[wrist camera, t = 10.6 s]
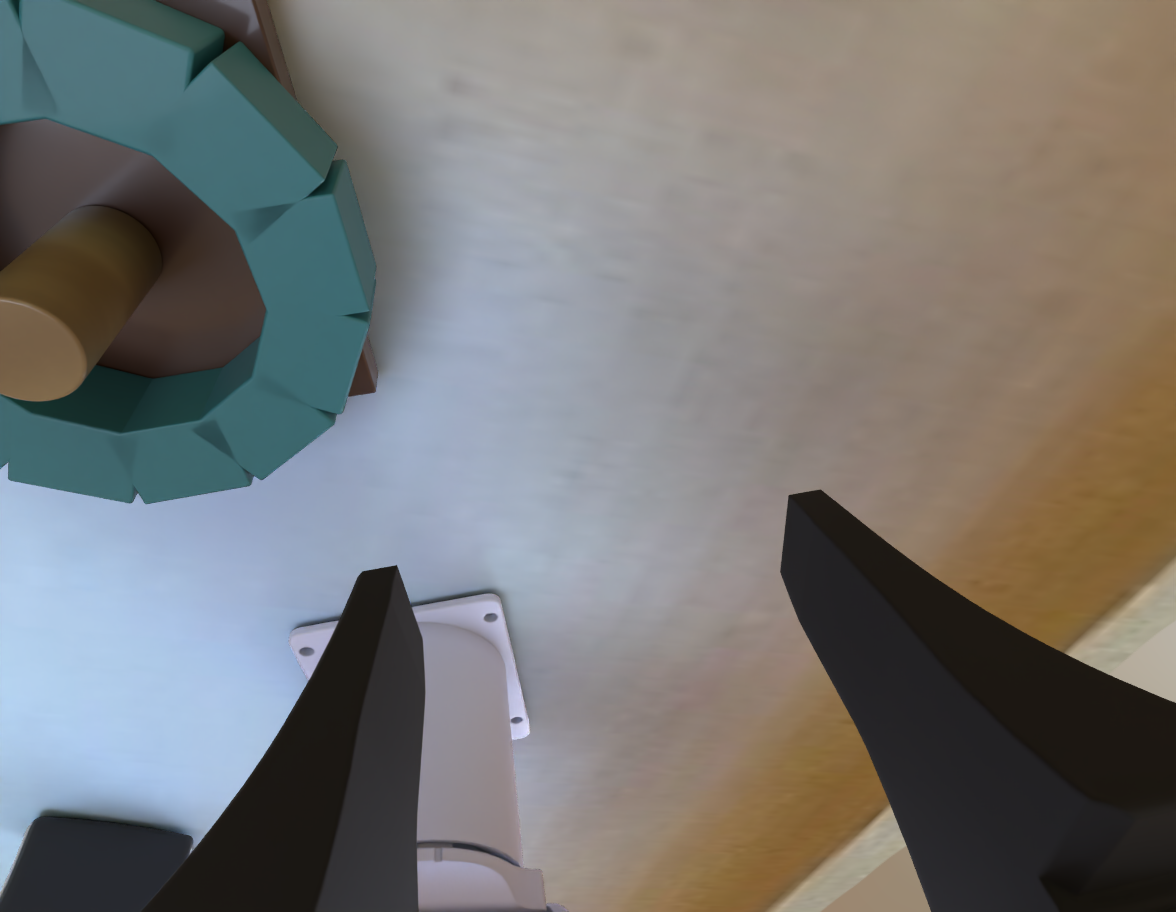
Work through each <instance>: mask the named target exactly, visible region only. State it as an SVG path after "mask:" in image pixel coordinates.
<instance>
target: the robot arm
mask: <svg viewBox="0 0 1176 912" xmlns="http://www.w3.org/2000/svg"><path fill="white" fill-rule="evenodd" d="M780 572H781V575H782V578H783V581H784V583H785V586H786V589H787V591H788V594H789V597H790V599H791V602H792V604H793V607H794V609H795V612H796V614H797V617H798V619H799V621H800V623H801V625H802V627H803V629H804V631H805V633H806V635H807V637H808V638H809V640H810V642H811V644H812V646H813V648H814V650H815V652H816V653H817V655H818V657H819V659H820V661H821V663H822V664H823V666H824V668H825V670H826V672H827V674H828V675H829V677H830V679H831V681H832V683H833V685H834V686H835V688H836V690H837V692H838V694H839V696H840V697H841V699H842V701H843V703H844V705H845V707H846V708H847V710H848V712H849V714H850V716H851V718H852V719H853V721H854V723H855V725H856V727H857V729H858V731H859V733H860V735H861V737H862V739H863V741H864V743H865V745H866V748H867V750H868V752H869V755H870V757H871V759H872V762H873V764H874V767H875V769H876V771H877V774H878V776H879V778H880V781H881V783H882V786H883V788H884V790H885V793H886V795H887V797H888V800H889V802H890V805H891V808H892V810H893V813H894V815H895V818H896V820H897V823H898V825H899V828H900V830H901V833H902V835H903V838H904V840H905V843H906V845H907V848H908V850H909V853H910V855H911V858H912V861H913V864H914V867H915V869H916V871H917V875H918V877H919V880H920V883H921V885H922V888H923V890H924V893H925V896H926V899H927V901H928V904H929V907H930V910H931V912H1176V703H1175V702H1172V701H1169V700H1167V699H1164V698H1162V697H1159V696H1157V695H1155V694H1152V693H1150V692H1148V691H1145V690H1143V689H1141V688H1138V687H1136V686H1133V685H1131V684H1129V683H1126V682H1124V681H1122V680H1119V679H1117V678H1115V677H1113V676H1110V675H1108V674H1106V673H1104V672H1102V671H1099V670H1097V669H1095V668H1093V667H1091V666H1089V665H1086V664H1084V663H1082V662H1080V661H1078V660H1076V659H1074V658H1072V657H1070V656H1068V655H1066V654H1064V653H1062V652H1060V651H1058V650H1056V649H1054V648H1052V647H1050V646H1048V645H1046V644H1044V643H1042V642H1041V641H1039V640H1037V639H1035V638H1033V637H1031V636H1029V635H1027V634H1026V633H1024V632H1022V631H1020V630H1018V629H1017V628H1015V627H1013V626H1012V625H1010V624H1008V623H1006V622H1005V621H1003V620H1001V619H999V618H998V617H996V616H994V615H993V614H991V613H989V612H987V611H986V610H984V609H982V608H981V607H979V606H978V605H976V604H974V603H973V602H971V601H970V600H968V599H966V598H965V597H963V596H962V595H960V594H959V593H957V592H956V591H954V590H953V589H951V588H950V587H948V586H947V585H945V584H944V583H942V582H941V581H939V580H938V579H936V578H935V577H934V576H932V575H931V574H929V573H928V572H926V571H925V570H924V569H922V568H921V567H919V566H918V565H917V564H915V563H914V562H913V561H911V560H910V559H909V558H907V557H906V556H905V555H903V554H902V553H901V552H899V551H898V550H897V549H895V548H894V547H893V546H891V545H890V544H889V543H887V542H886V541H885V540H884V539H882V538H881V537H880V536H878V535H877V534H876V533H875V532H873V531H872V530H871V529H870V528H868V527H867V526H866V525H864V524H863V523H862V522H861V521H859V520H858V519H857V518H856V517H854V516H853V515H852V514H851V513H849V512H848V511H847V510H846V509H844V508H843V507H842V506H841V505H839V504H838V503H837V502H836V501H834V500H833V499H832V498H831V497H829V496H828V495H827V494H826V493H824V492H823V491H822V490H815V491H809V492H804V493H798V494H793V495H789V498H788V507H787V516H786V525H785V534H784V543H783V552H782V561H781V570H780ZM489 613H494V614H489ZM288 642H289V646H290V648H291V649H292V651H293V653H294V655H295V657H296V659H297V661H298V663H299V665H300V666H301V668H302V670H303V672H304V674H305V676H306V678H307V680H308V683H307V685H306V687H305V688H304V690H303V692H302V693H301V695H300V697H299V699H298V700H297V702H296V704H295V706H294V707H293V709H292V711H291V712H290V714H289V716H288V718H287V719H286V721H285V723H284V725H283V726H282V728H281V729H280V731H279V733H278V734H277V736H276V737H275V739H274V741H273V742H272V744H271V745H270V747H269V748H268V750H267V751H266V753H265V754H264V756H263V757H262V759H261V760H260V762H259V763H258V765H257V766H256V768H255V769H254V771H253V772H252V774H251V775H250V777H249V778H248V779H247V781H246V782H245V784H244V785H243V786H242V788H241V789H240V790H239V792H238V793H237V794H236V796H235V797H234V799H233V800H232V801H231V803H230V804H229V805H228V807H227V808H226V809H225V811H224V812H223V813H222V815H221V816H220V817H219V819H218V820H217V821H216V823H215V824H214V825H213V826H212V828H211V829H210V830H209V832H208V833H207V834H206V835H205V837H204V838H203V839H202V840H201V842H200V843H199V844H198V845H197V847H196V848H195V849H194V850H193V851H192V852H191V854H190V855H189V856H188V857H187V858H186V859H185V861H184V862H183V863H182V864H181V865H180V866H179V868H178V869H177V870H176V871H175V872H174V873H173V875H172V876H171V877H170V878H169V879H168V880H167V882H166V883H165V884H164V885H163V886H162V887H161V889H160V890H159V891H158V892H157V893H156V895H155V896H154V897H153V898H152V899H151V900H150V901H149V903H148V904H147V905H146V906H145V907H144V908H143V909H142V910H141V911H140V912H569V911H568V910H567V909H566V908H565V907H564V906H562V905H560V904H557V903H546V899H545V890H544V881H543V872H542V870H540V869H528V868H524V864H523V853H522V842H521V832H520V821H519V810H518V799H517V788H516V777H515V767H514V756H513V745H512V740H514V739H519V738H523V737H525V736H527V735H528V734H529V733H530V723H529V719H528V714H527V710H526V706H525V702H524V697H523V693H522V689H521V684H520V680H519V676H518V672H517V667H516V663H515V659H514V654H513V650H512V646H511V642H510V637H509V633H508V629H507V625H506V620H505V616H504V612H503V607H502V603H501V600H500V598H499V597H498V596H497V595H495V594H491V593H488V594H481V595H475V596H470V597H464V598H459V599H453V600H448V601H442V602H437V603H431V604H426V605H420V606H415V607H411V604H410V601H409V598H408V595H407V592H406V590H405V587H404V584H403V581H402V578H401V575H400V573H399V570H398V567H397V565H396V566H390V567H384V568H379V569H373V570H368V571H362V573H361V574H360V575H359V576H358V578H357V580H356V582H355V585H354V587H353V590H352V592H351V594H350V597H349V599H348V601H347V604H346V606H345V608H344V610H343V613H342V615H341V617H340V619H339V620H338V621H332V622H327V623H321V624H316V625H310V626H305V627H300V628H297V629H294V630H293V631H292V632H291V633H290V636H289V641H288ZM306 647H309V648H306Z"/></svg>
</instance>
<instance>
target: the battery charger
mask: <svg viewBox="0 0 1176 912" xmlns="http://www.w3.org/2000/svg"><path fill="white" fill-rule="evenodd" d="M192 844H193V838H192V837H191V836H189V835H184V834H179V833H174V832H169V831H164V830H158V829H151V828H145V827H138V826H131V825H125V824H117V823H108V822H99V821H90V820H81V819H70V818H56V817H39V818H37V819H35V820H34V821H33V822H32V823H31V824H30V825H29V826H28V828H27V829H26V832H25V834H24V837H23V839H22V842H21V844H20V847H19V849H18V852H17V854H16V857H15V859H14V862H13V864H12V867H11V869H10V871H9V874H8V876H7V878H6V880H5V883H4V885H3V887H2V890H1V892H0V912H140V911H141V910H142V909H143V908H144V907H145V906H146V905H147V904H148V903H149V901H150V900H151V899H152V898H153V897H154V896H155V895H156V893H157V892H158V891H159V890H160V889H161V887H162V886H163V885H164V884H165V883H166V882H167V880H168V879H169V878H170V877H171V876H172V875H173V873H174V872H175V871H176V870H177V869H178V868H179V866H180V865H181V864H182V863H183V862H184V861H185V859H186V858H187V857H188V856H189V855H190V853H191V850H192Z"/></svg>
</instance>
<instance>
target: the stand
mask: <svg viewBox="0 0 1176 912" xmlns="http://www.w3.org/2000/svg"><path fill="white" fill-rule="evenodd" d="M154 1H157V2H159V3H161V4H164V5H166V6H169V7H171V8H173V9H176V10H178V11H180V12H183V13H185V14H188V15H190V16H192V17H195V18H197V19H200V20H202V21H204V22H207V23H209V24H211V25H214V26H216V27H219V28H221V29H222V30H223V31H224V34H225V38H224V45H223V51H222V53H224V52H225V51H226V50H228V49H229V48H231V47H232V46H233V45H235V44H236V43H237V42H239V41H241V42H242V43H243V44H244V45H245V46H246V47H247V48H248V49H249V50H250V51H251V52H252V54H253V55H254V56H255V57H256V58H257V59H258V60H259V61H260V62H261V63H262V64H263V65H264V67H265V68H266V69H267V70H268V71H269V72H270V73H271V74H272V75H273V76H274V77H275V78H276V80H277V81H278V82H279V83H280V84H281V85H282V86H283V87H284V88H285V89H286V90H287V91H288V93H289V94H290V95H291V96H292V97H293V98H294V99H295V100H296V101H297V99H296V96H295V93H294V89H293V86H292V83H291V80H290V76H289V73H288V70H287V66H286V63H285V60H284V56H283V53H282V50H281V46H280V43H279V40H278V36H277V33H276V30H275V26H274V23H273V20H272V16H271V13H270V10H269V6H268V3H267V0H154ZM265 312H266V307H265V305H264V302H263V300H262V297H261V295H260V292H259V290H258V287H257V285H256V283H255V280H254V278H253V275H252V273H251V270H250V268H249V265H248V263H247V260H246V258H245V255H244V253H243V250H242V248H241V245H240V243H239V240H238V238H237V235H236V233H235V230H234V229H233V228H231V227H230V226H229V225H228V224H227V223H226V222H225V221H224V220H223V219H221V218H220V217H219V216H218V215H217V214H216V213H215V212H214V211H213V210H212V209H210V208H209V207H208V206H207V205H206V204H205V203H204V202H203V201H202V200H200V199H199V198H198V197H197V196H196V195H195V194H194V193H193V192H192V191H191V190H189V189H188V188H187V187H186V186H185V185H184V184H183V183H182V182H181V181H179V180H178V179H177V178H176V177H175V176H174V175H173V174H172V173H171V172H169V171H168V170H167V169H166V168H165V167H164V166H163V165H162V164H161V163H160V162H158V161H157V160H156V159H155V158H154V157H153V156H151V155H148V154H145V153H142V152H139V151H136V150H133V149H131V148H128V147H125V146H122V145H119V144H116V143H113V142H110V141H108V140H105V139H102V138H99V137H96V136H93V135H90V134H88V133H85V132H82V131H79V130H76V129H73V128H70V127H68V126H65V125H62V124H59V123H56V122H53V121H50V120H48V119H41V120H33V121H26V122H19V123H12V124H4V125H0V394H2V395H5V396H8V397H11V398H15V399H19V400H25V401H50V400H55V399H59V398H62V397H64V396H67V395H69V394H71V393H72V392H74V391H75V390H76V389H77V388H78V387H79V386H80V385H81V384H82V383H83V381H84V380H85V379H86V377H87V376H88V374H89V373H90V372H91V370H92V369H93V368H94V366H95V365H99V366H103V367H107V368H111V369H115V370H119V371H123V372H127V373H131V374H135V375H139V376H143V377H147V378H151V379H155V378H161V377H167V376H173V375H179V374H185V373H192V372H198V371H204V370H210V369H216V368H222V367H224V366H225V365H227V364H228V363H229V362H230V361H231V360H232V359H234V358H235V357H236V356H237V355H238V354H240V353H241V352H242V351H243V350H244V349H246V348H247V347H248V346H249V345H250V344H251V343H253V342H254V341H255V340H256V339H257V338H259V337H260V335H261V330H262V326H263V321H264V317H265ZM377 378H378V369H377V365H376V362H375V359H374V355H373V352H372V349H371V345H370V342H369V339H368V335H367V336H366V339H365V342H364V345H363V349H362V352H361V355H360V359H359V362H358V365H357V368H356V372H355V375H354V378H353V381H352V385H351V388H350V391H349V395H348V397H350V396H356V395H363V394H369V393H374V392H376V387H377Z"/></svg>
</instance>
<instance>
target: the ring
mask: <svg viewBox="0 0 1176 912" xmlns="http://www.w3.org/2000/svg"><path fill="white" fill-rule="evenodd" d="M224 38H225V34H224V31H223V30H222V29H221V28H219V27H216V26H214V25H211V24H209V23H207V22H204V21H202V20H200V19H197V18H195V17H192V16H190V15H188V14H185V13H183V12H180V11H178V10H176V9H173V8H171V7H169V6H166V5H164V4H161V3H159V2H157V1H154V0H0V125H4V124H12V123H19V122H26V121H33V120H41V119H48V120H50V121H53V122H56V123H59V124H62V125H65V126H68V127H70V128H73V129H76V130H79V131H82V132H85V133H88V134H90V135H93V136H96V137H99V138H102V139H105V140H108V141H110V142H113V143H116V144H119V145H122V146H125V147H128V148H131V149H133V150H136V151H139V152H142V153H145V154H148V155H151V156H153V157H154V158H155V159H156V160H157V161H158V162H160V163H161V164H162V165H163V166H164V167H165V168H166V169H167V170H168V171H169V172H171V173H172V174H173V175H174V176H175V177H176V178H177V179H178V180H179V181H181V182H182V183H183V184H184V185H185V186H186V187H187V188H188V189H189V190H191V191H192V192H193V193H194V194H195V195H196V196H197V197H198V198H199V199H200V200H202V201H203V202H204V203H205V204H206V205H207V206H208V207H209V208H210V209H212V210H213V211H214V212H215V213H216V214H217V215H218V216H219V217H220V218H221V219H223V220H224V221H225V222H226V223H227V224H228V225H229V226H230V227H231V228H233V229H234V230H235V233H236V235H237V238H238V240H239V243H240V245H241V248H242V250H243V253H244V255H245V258H246V260H247V263H248V265H249V268H250V270H251V273H252V275H253V278H254V280H255V283H256V285H257V287H258V290H259V292H260V295H261V297H262V300H263V302H264V305H265V307H266V312H265V317H264V321H263V326H262V330H261V335H260V337H259V338H257V339H256V340H255V341H254V342H253V343H251V344H250V345H249V346H248V347H247V348H246V349H244V350H243V351H242V352H241V353H240V354H238V355H237V356H236V357H235V358H234V359H232V360H231V361H230V362H229V363H228V364H227V365H225V366H224V367H222V368H216V369H210V370H204V371H198V372H192V373H185V374H179V375H173V376H167V377H161V378H155V379H151V378H147V377H143V376H139V375H135V374H131V373H127V372H123V371H119V370H115V369H111V368H107V367H103V366H99V365H95V366H94V368H93V369H92V370H91V372H90V373H89V374H88V376H87V377H86V379H85V380H84V381H83V383H82V384H81V385H80V386H79V387H78V388H77V389H76V390H75V391H74V392H72V393H71V394H69V395H67V396H64V397H62V398H59V399H55V400H50V401H25V400H19V399H15V398H11V397H8V396H5V395H2V394H0V469H1V468H2V467H3V466H4V465H5V464H7V463H8V462H9V463H8V479H9V480H11V481H15V482H21V483H26V484H31V485H36V486H42V487H47V488H52V489H57V490H63V491H68V492H73V493H78V494H83V495H89V496H94V497H99V498H104V499H110V500H115V501H120V502H125V503H132V502H133V501H134V499H135V497H136V495H137V493H139V495H140V496H141V498H142V500H143V501H144V503H145V504H150V503H156V502H161V501H167V500H173V499H178V498H184V497H190V496H195V495H201V494H207V493H212V492H218V491H224V490H230V489H235V488H241V487H247V486H250V485H251V483H252V480H253V477H254V476H255V477H257V478H258V479H260V480H263V479H264V478H266V477H267V476H268V475H270V474H271V473H272V472H273V471H275V470H276V469H277V468H279V467H280V466H281V465H283V464H284V463H285V462H286V461H288V460H289V459H290V458H292V457H293V456H294V455H296V454H297V453H298V452H299V451H301V450H302V449H303V448H305V447H306V446H307V445H308V444H310V443H311V442H312V441H314V440H315V439H316V438H318V437H319V436H320V435H321V434H323V433H324V432H325V431H327V430H328V429H329V428H331V427H332V426H333V425H334V424H335V421H336V416H337V414H342V413H343V411H344V408H345V404H346V401H347V398H348V395H349V391H350V388H351V385H352V381H353V378H354V375H355V372H356V368H357V365H358V362H359V359H360V355H361V352H362V349H363V345H364V342H365V339H366V336H367V332H368V329H369V326H370V320H371V313H372V307H373V300H374V293H375V287H376V280H375V279H374V278H375V272H376V263H375V259H374V256H373V252H372V249H371V245H370V242H369V238H368V235H367V232H366V228H365V225H364V221H363V218H362V214H361V211H360V207H359V204H358V200H357V197H356V193H355V190H354V186H353V183H352V180H351V176H350V173H349V169H348V166H347V162H346V161H345V160H337V161H332V160H333V158H334V155H335V153H336V150H337V148H338V146H337V145H336V143H335V142H334V141H333V140H332V139H331V138H330V137H329V136H328V135H327V134H326V133H325V132H324V130H323V129H322V128H321V127H320V126H319V125H318V124H317V123H316V122H315V121H314V120H313V119H312V117H311V116H310V115H309V114H308V113H307V112H306V111H305V110H304V109H303V108H302V107H301V106H300V104H299V103H298V102H297V101H296V100H295V99H294V98H293V97H292V96H291V95H290V94H289V93H288V91H287V90H286V89H285V88H284V87H283V86H282V85H281V84H280V83H279V82H278V81H277V80H276V78H275V77H274V76H273V75H272V74H271V73H270V72H269V71H268V70H267V69H266V68H265V67H264V65H263V64H262V63H261V62H260V61H259V60H258V59H257V58H256V57H255V56H254V55H253V54H252V52H251V51H250V50H249V49H248V48H247V47H246V46H245V45H244V44H243V43H242V42H241V41H239V42H237V43H236V44H235V45H233V46H232V47H231V48H229V49H228V50H226V51H225V52H224V53H222V51H223V45H224Z"/></svg>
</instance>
